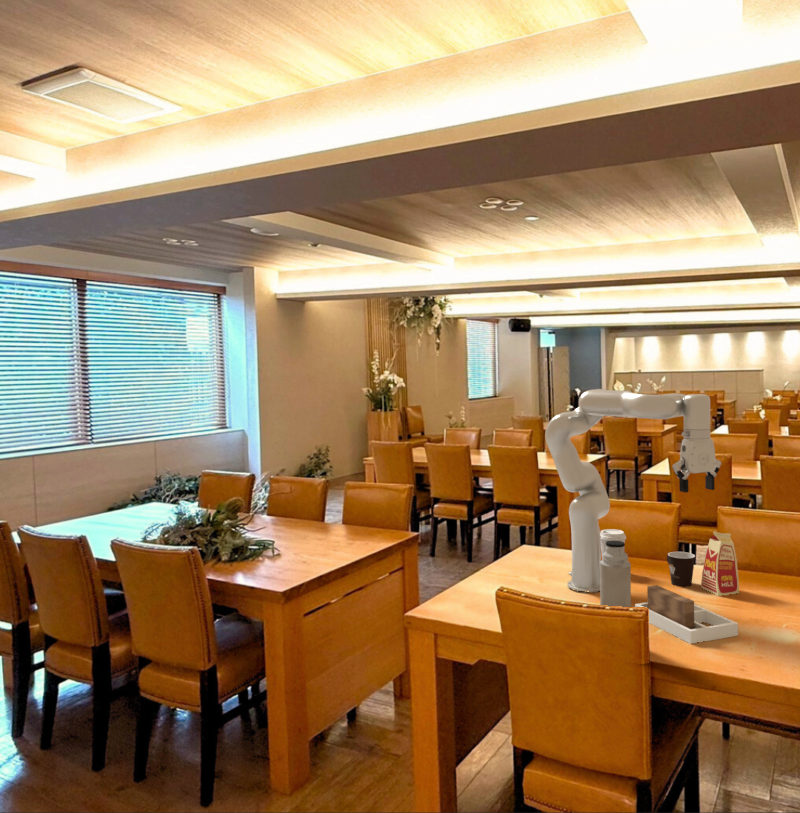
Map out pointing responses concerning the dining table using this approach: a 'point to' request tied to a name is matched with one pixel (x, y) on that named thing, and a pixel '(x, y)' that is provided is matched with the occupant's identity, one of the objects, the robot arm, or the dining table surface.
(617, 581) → the thermos bottle
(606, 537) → the coffee cup
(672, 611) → the brown wooden block
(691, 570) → the coffee mug
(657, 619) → the white compartment tray
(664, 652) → the dining table surface
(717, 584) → the milk carton
